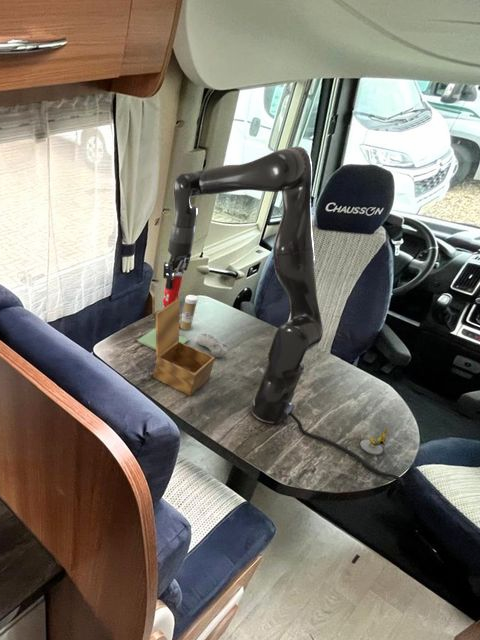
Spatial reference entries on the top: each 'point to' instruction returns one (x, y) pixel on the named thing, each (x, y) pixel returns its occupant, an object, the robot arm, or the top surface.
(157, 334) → the chest lid
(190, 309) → the sprinkles bottle
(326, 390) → the top surface
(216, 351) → the decorative stone
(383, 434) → the figurine
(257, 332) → the top surface
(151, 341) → the pad
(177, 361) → the chest
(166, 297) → the beverage can
